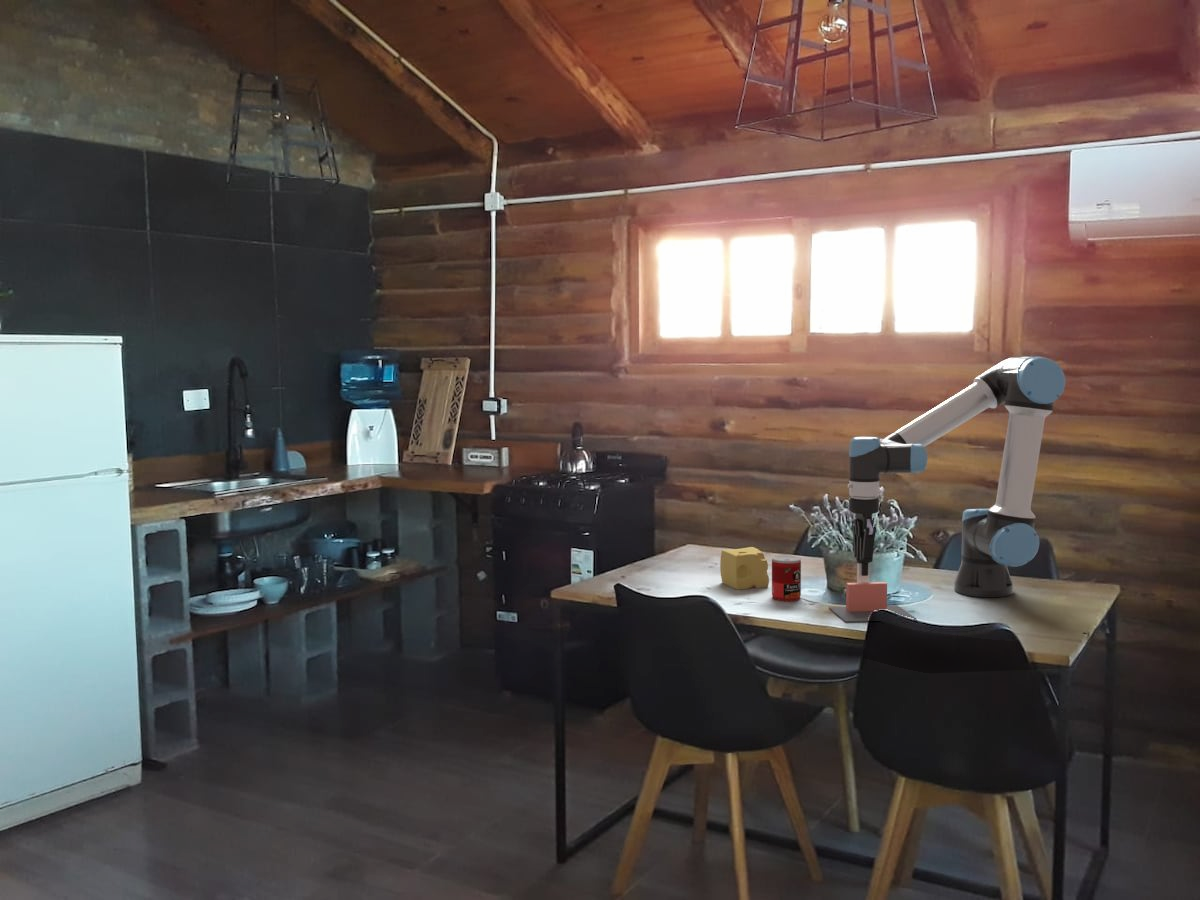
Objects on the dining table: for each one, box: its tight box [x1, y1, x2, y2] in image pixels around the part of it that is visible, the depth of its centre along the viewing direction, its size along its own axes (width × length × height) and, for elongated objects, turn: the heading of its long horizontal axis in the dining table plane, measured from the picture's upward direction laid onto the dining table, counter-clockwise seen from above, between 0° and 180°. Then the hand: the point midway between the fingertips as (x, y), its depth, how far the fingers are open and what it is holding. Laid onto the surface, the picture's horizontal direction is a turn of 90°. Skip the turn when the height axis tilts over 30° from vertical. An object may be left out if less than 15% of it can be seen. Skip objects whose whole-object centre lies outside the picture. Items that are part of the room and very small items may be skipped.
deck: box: [845, 581, 888, 612], centre depth 269 cm, size 10×2×7 cm, turn 94°
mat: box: [828, 604, 917, 623], centre depth 266 cm, size 18×14×1 cm
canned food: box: [771, 554, 802, 602], centre depth 284 cm, size 8×8×11 cm
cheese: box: [719, 546, 770, 591], centre depth 301 cm, size 10×11×10 cm
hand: (862, 587), depth 273 cm, fingers closed
